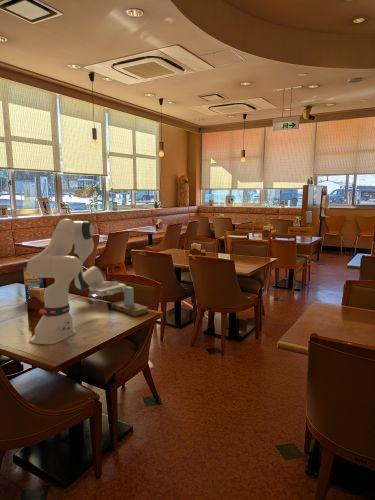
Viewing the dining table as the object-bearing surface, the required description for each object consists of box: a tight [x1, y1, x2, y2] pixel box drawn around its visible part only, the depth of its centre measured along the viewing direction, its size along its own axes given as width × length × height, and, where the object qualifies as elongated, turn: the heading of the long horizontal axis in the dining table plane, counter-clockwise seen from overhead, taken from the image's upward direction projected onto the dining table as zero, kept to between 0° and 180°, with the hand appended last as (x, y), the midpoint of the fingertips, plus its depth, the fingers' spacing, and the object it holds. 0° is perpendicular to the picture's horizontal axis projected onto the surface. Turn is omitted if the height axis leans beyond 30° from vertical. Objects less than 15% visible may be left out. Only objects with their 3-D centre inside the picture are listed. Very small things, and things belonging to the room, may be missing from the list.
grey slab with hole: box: [110, 299, 149, 317], centre depth 215 cm, size 22×10×3 cm, turn 47°
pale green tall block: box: [123, 285, 135, 307], centre depth 214 cm, size 5×3×14 cm, turn 48°
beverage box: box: [23, 266, 44, 303], centre depth 233 cm, size 7×11×22 cm, turn 113°
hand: (118, 292), depth 220 cm, fingers open, 8 cm apart
